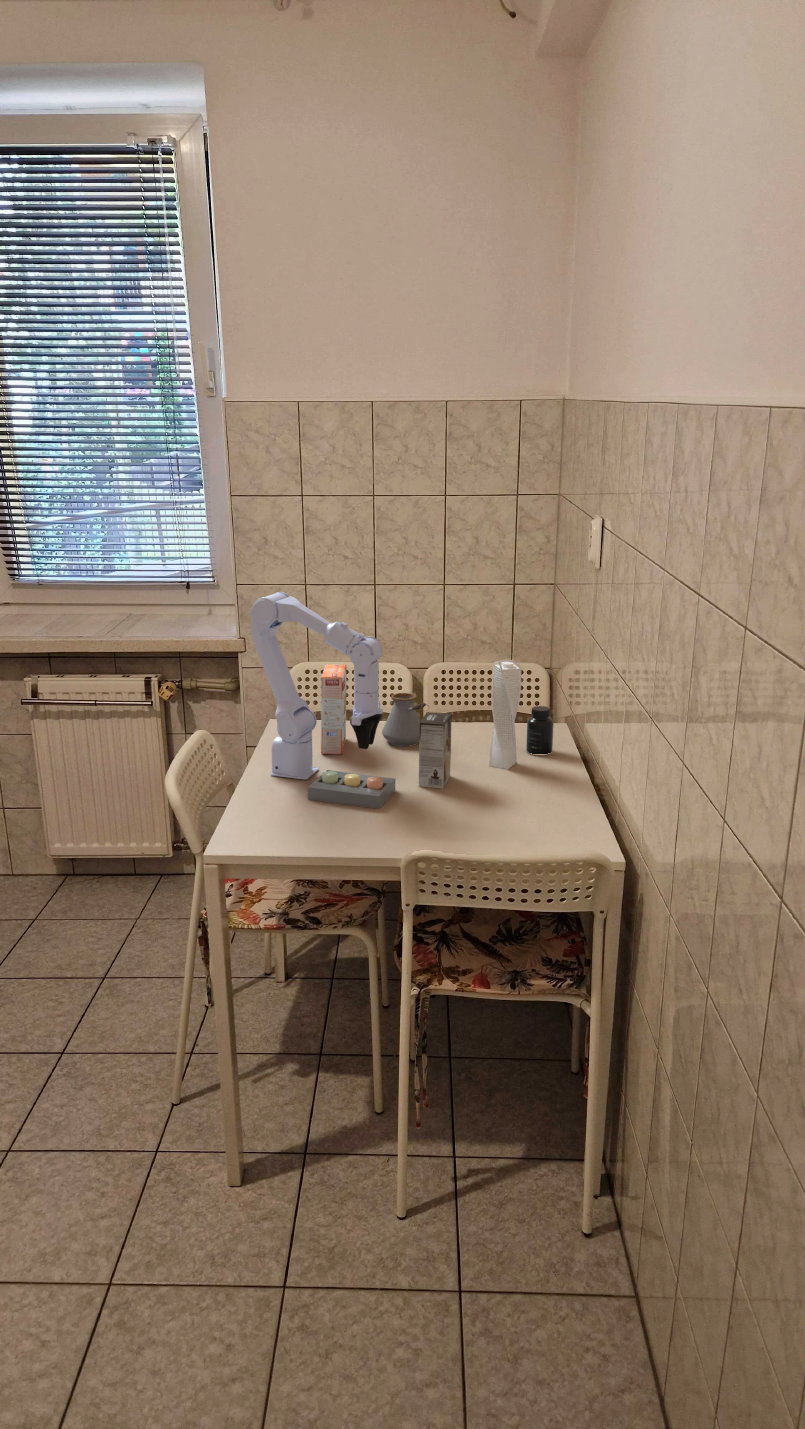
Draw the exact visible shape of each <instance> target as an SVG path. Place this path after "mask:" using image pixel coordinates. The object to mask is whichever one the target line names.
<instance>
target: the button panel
mask: <svg viewBox="0 0 805 1429" xmlns="http://www.w3.org/2000/svg"><path fill="white" fill-rule="evenodd" d="M326 771H332V770H329V769H327V770H326ZM333 771H334V772H337V773H338V782H337V783H336V784H330V783H322V774H321V775H320V776H319V777H318V778H316V779H315V780H314V781H313V782H312V783H311V784H309V785H308V787H307V800H310V801H318V802H326V803H331V804H340V805H348V806H355V807H361V808H363V807H364V808H371V809H378V810H380V808H381V807H382V806H383V805H384V804H385V803H386V802H387V801H388V799H389V798H390V797H391V796H392V795H393V794H394V792H395V791H396V777H389V776H387V777H386V776H379V775H372V774H362V773H355V772H354V773H353V772H346V771H341V770H340V771H339V770H338V771H337V770H333ZM347 774H357V775H360V786H359V787H353V786H346V785H345V784H344V776H345V775H347ZM369 777H381V778H382V779H383V788H382V789H381V790H377V789H369V788H367V779H368V778H369Z"/></svg>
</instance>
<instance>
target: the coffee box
mask: <svg viewBox="0 0 805 1429" xmlns="http://www.w3.org/2000/svg"><path fill="white" fill-rule="evenodd" d="M452 716H453V713H451V712H450V713H449V712H446V713H445V712H434V711H433V712H431V711H425V714H424V715H423V717H422V719H420V721H421V722H420V735H419V741H418V744H419V745H418V751H419V752H418V787H422V788H433V789H434V788H435V789H445V787H446V785H447V783H448V781H449V779H450V776H451V754H452V752H451V751H452Z"/></svg>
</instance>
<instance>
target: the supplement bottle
mask: <svg viewBox="0 0 805 1429" xmlns="http://www.w3.org/2000/svg"><path fill="white" fill-rule="evenodd" d="M530 715H531V716H530V717H529V718H528V719H527V721H526V722H527V723H526V746H525V747H526V748H525V749H526V752H527V753H528V752H529V753H532V754H548V753H551V752H553V747H554V746H553V742H554V720H553V719H552V718H551V708H550V707H549V706H543V705H536V706H533V707H531V714H530ZM529 753H528V754H529ZM551 754H552V753H551Z"/></svg>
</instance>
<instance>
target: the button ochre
mask: <svg viewBox="0 0 805 1429" xmlns="http://www.w3.org/2000/svg"><path fill="white" fill-rule="evenodd" d="M357 774H358V773H356V774H347V775H345V776H344V784H345V785H346V786H353V787H359V786H360V775H357Z"/></svg>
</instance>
